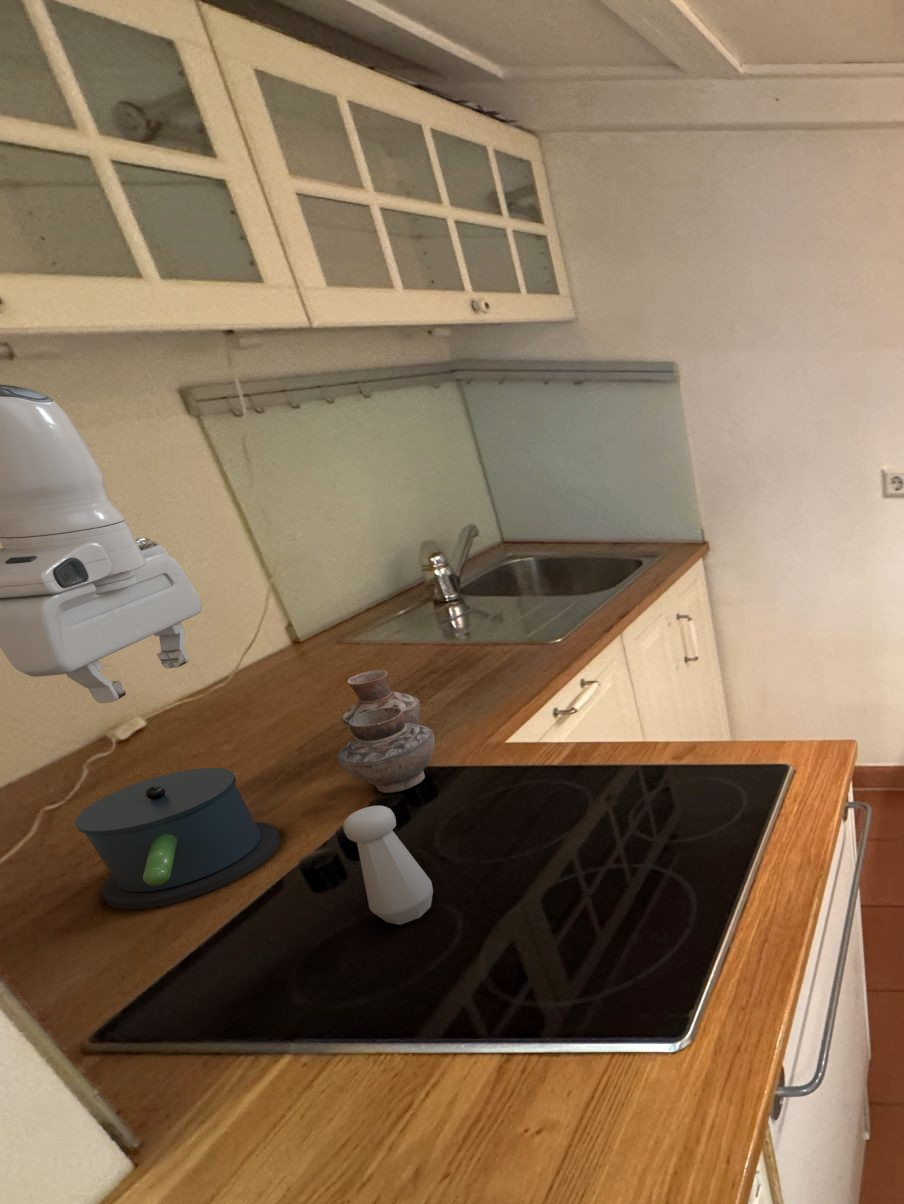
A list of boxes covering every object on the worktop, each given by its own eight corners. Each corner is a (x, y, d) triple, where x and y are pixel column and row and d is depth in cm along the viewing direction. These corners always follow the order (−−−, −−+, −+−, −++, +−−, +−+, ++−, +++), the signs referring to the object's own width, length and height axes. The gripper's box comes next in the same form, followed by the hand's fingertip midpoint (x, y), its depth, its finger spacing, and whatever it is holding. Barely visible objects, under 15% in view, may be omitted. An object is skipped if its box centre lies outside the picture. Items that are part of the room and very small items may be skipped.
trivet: (94, 930, 83) (89, 923, 83) (115, 862, 95) (111, 855, 94) (281, 869, 92) (277, 862, 92) (280, 813, 104) (277, 807, 103)
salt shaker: (441, 915, 84) (399, 816, 78) (378, 938, 81) (330, 836, 75) (437, 888, 88) (397, 792, 82) (377, 908, 85) (331, 810, 79)
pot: (122, 854, 94) (79, 784, 90) (264, 812, 102) (231, 746, 97) (92, 953, 78) (38, 875, 74) (263, 895, 86) (222, 821, 81)
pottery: (432, 724, 127) (407, 657, 122) (452, 785, 109) (424, 709, 104) (349, 746, 121) (319, 677, 116) (356, 814, 103) (320, 735, 98)
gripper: (122, 535, 86) (181, 650, 92) (-57, 587, 68) (30, 726, 74) (187, 531, 87) (240, 645, 93) (27, 581, 69) (107, 719, 75)
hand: (146, 682), depth 83 cm, fingers open, 8 cm apart
